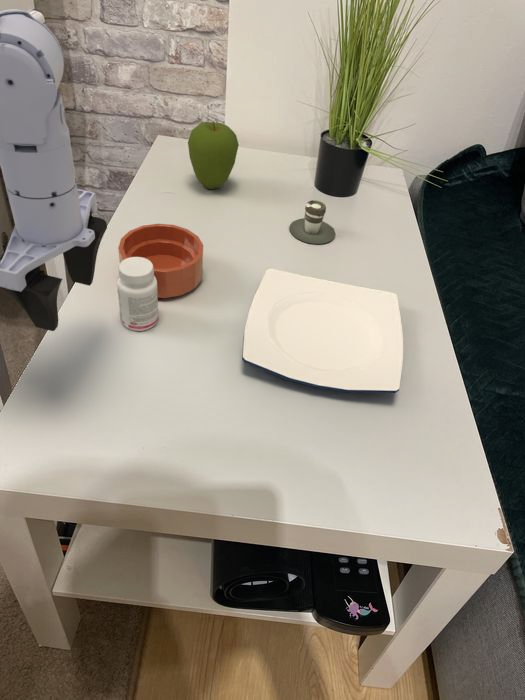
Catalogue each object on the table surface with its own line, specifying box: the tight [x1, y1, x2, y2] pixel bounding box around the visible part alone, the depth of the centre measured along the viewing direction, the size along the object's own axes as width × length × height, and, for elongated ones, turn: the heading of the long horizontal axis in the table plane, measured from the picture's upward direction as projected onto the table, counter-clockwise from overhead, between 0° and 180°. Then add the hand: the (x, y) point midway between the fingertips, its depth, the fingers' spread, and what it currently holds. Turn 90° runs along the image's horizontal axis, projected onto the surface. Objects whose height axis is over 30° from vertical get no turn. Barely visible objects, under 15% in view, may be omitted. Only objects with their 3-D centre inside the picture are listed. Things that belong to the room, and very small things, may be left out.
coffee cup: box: [288, 199, 336, 245], centre depth 86 cm, size 12×12×5 cm
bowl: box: [118, 223, 204, 299], centre depth 73 cm, size 11×11×5 cm
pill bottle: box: [116, 257, 159, 332], centre depth 65 cm, size 5×5×8 cm
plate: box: [241, 268, 404, 394], centre depth 68 cm, size 20×20×3 cm
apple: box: [187, 121, 240, 190], centre depth 90 cm, size 9×8×12 cm
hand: (65, 303), depth 54 cm, fingers open, 7 cm apart
